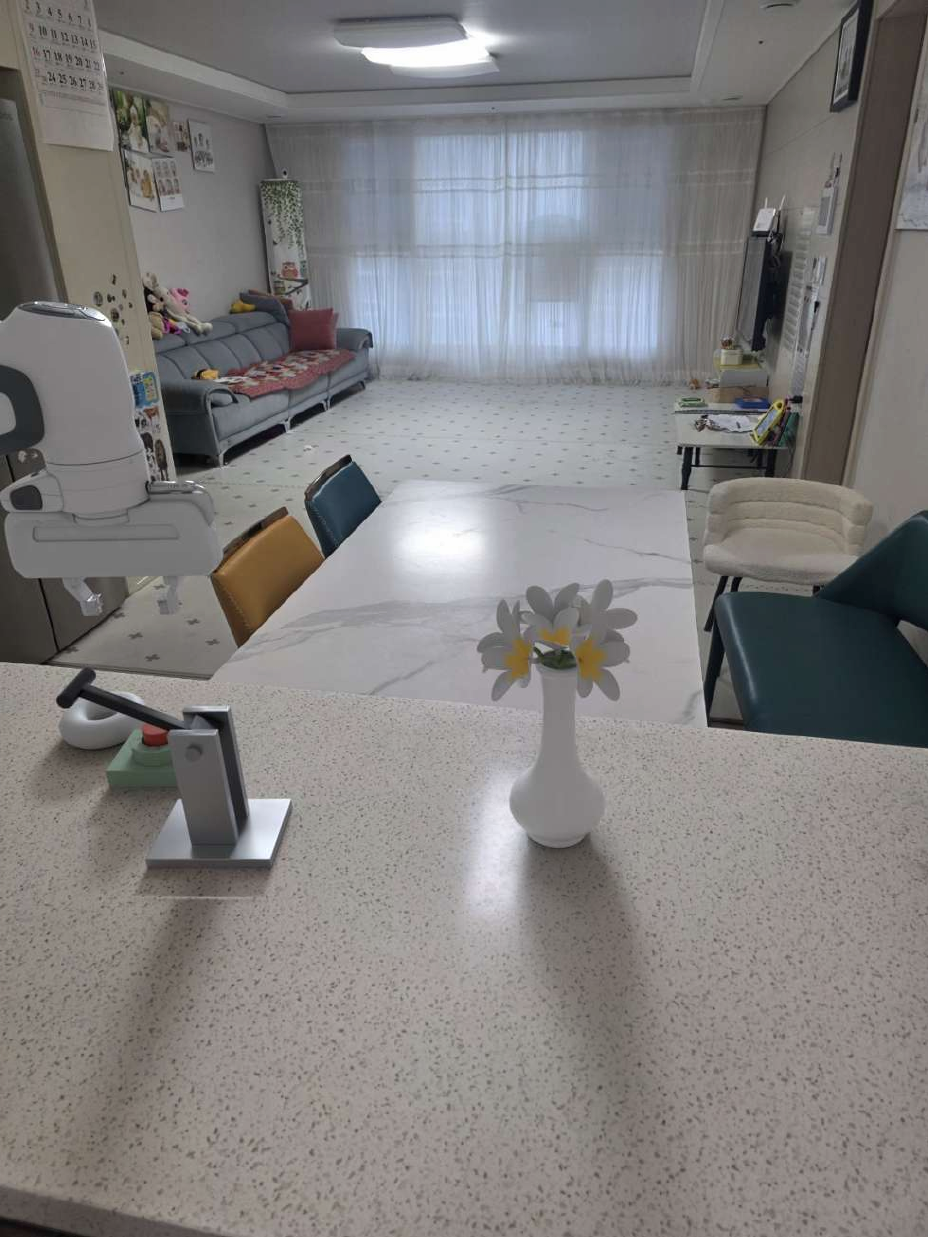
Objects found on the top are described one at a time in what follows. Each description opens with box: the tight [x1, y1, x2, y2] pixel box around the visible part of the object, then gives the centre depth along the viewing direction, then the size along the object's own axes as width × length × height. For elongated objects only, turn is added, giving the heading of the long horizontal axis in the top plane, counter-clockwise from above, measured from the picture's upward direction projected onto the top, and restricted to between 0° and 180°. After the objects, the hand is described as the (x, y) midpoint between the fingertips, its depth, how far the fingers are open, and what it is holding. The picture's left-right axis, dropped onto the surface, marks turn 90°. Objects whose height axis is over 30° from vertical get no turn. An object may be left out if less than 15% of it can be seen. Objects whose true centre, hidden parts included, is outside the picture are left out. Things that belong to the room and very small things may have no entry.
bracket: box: [144, 705, 294, 870], centre depth 79 cm, size 12×9×14 cm
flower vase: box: [476, 578, 639, 849], centre depth 77 cm, size 13×18×25 cm
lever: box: [55, 667, 224, 738], centre depth 76 cm, size 14×5×2 cm, turn 89°
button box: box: [105, 728, 178, 788], centre depth 92 cm, size 10×8×4 cm
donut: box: [58, 690, 147, 750], centre depth 99 cm, size 10×4×10 cm
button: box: [142, 723, 169, 747], centre depth 91 cm, size 4×4×2 cm
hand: (132, 612), depth 85 cm, fingers open, 7 cm apart
